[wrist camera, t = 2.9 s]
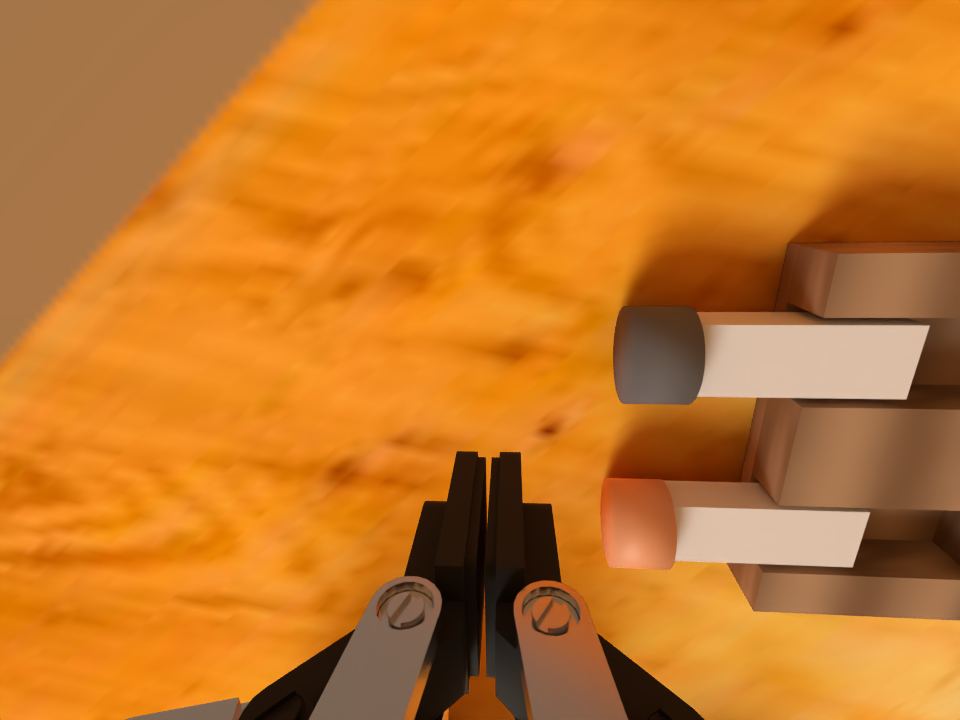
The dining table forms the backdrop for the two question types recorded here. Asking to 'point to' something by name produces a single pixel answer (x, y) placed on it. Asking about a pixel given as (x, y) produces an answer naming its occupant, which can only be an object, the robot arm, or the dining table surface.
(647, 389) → the white and grey bar
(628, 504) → the rust knob
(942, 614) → the brown wooden tray
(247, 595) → the dining table surface
